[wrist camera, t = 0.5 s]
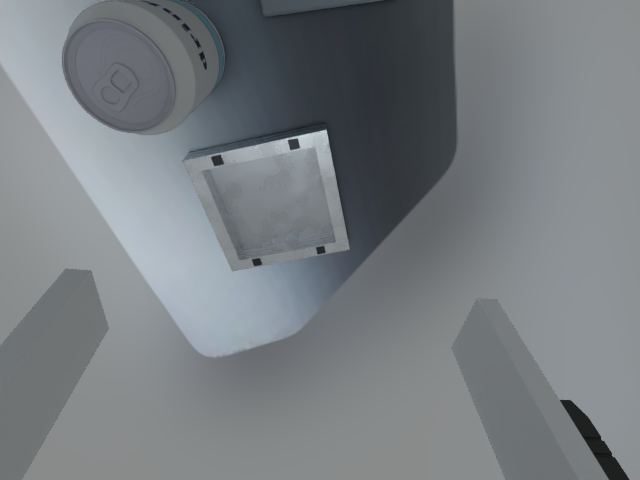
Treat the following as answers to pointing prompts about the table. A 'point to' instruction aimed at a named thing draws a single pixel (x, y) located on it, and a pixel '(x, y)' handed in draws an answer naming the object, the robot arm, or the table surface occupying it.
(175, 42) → the beverage can
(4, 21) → the table surface
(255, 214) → the rail plate
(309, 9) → the bracket
